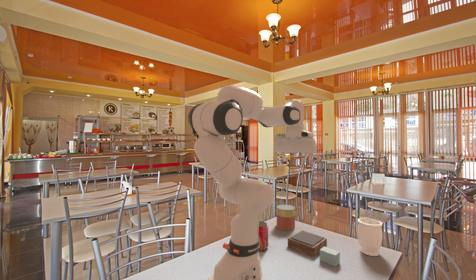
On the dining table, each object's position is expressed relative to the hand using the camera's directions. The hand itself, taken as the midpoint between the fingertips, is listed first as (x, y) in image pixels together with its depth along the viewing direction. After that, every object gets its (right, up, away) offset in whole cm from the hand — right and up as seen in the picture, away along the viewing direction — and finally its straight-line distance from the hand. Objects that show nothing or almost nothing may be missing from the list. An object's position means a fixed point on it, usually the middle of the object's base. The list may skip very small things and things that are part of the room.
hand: (294, 162), depth 110 cm
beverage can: (-16, -43, +4) cm, 47 cm away
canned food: (+2, -43, +30) cm, 53 cm away
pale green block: (+13, -44, -9) cm, 47 cm away
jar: (+36, -44, -1) cm, 57 cm away
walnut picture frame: (+8, -43, +5) cm, 44 cm away
